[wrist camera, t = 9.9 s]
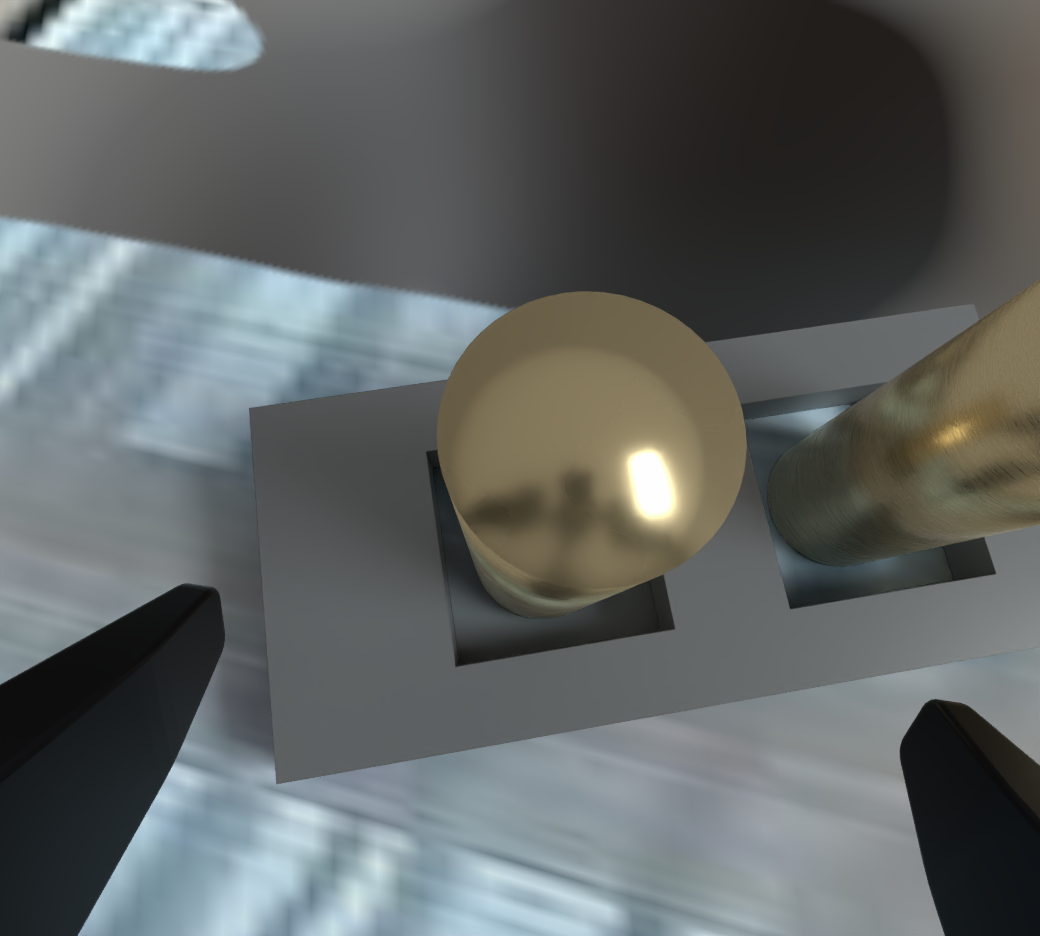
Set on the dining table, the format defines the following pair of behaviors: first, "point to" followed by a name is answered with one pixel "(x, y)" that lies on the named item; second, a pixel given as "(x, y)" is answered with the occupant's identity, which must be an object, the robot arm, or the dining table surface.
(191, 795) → the dining table surface
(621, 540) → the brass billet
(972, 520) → the cylinder
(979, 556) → the frame
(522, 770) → the dining table surface
